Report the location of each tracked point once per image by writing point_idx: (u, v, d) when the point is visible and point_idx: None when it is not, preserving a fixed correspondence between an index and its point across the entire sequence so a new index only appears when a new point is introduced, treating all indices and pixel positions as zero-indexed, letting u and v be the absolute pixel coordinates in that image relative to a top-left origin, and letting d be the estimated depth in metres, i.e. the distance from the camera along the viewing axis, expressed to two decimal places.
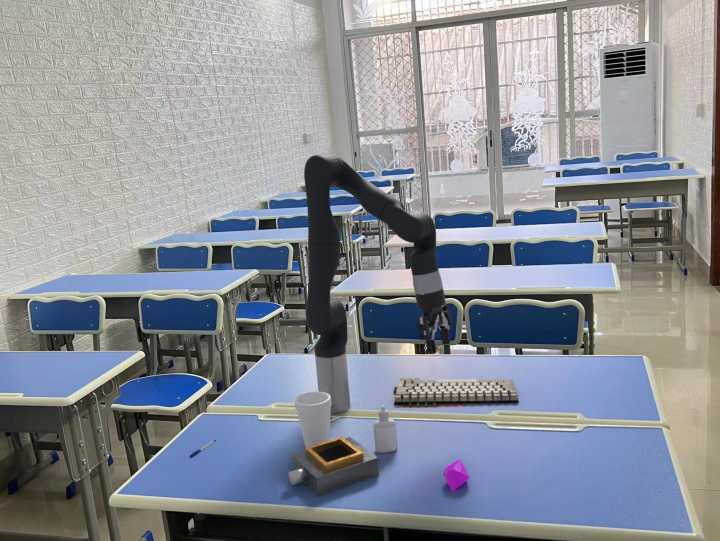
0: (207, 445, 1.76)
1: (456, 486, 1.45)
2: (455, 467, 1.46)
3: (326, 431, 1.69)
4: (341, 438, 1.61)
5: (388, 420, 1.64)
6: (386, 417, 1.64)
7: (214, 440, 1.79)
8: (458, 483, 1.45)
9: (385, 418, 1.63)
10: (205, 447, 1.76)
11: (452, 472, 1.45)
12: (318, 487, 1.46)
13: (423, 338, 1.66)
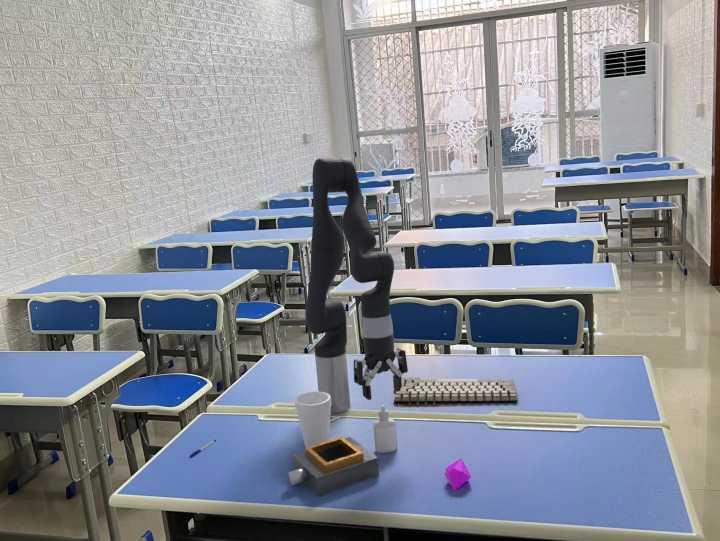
0: (207, 445, 1.76)
1: (458, 485, 1.45)
2: (457, 466, 1.46)
3: (326, 431, 1.69)
4: (341, 438, 1.61)
5: (388, 420, 1.64)
6: (386, 417, 1.64)
7: (214, 440, 1.79)
8: (460, 482, 1.45)
9: (385, 418, 1.63)
10: (205, 447, 1.76)
11: (453, 471, 1.45)
12: (318, 487, 1.46)
13: (356, 382, 1.60)
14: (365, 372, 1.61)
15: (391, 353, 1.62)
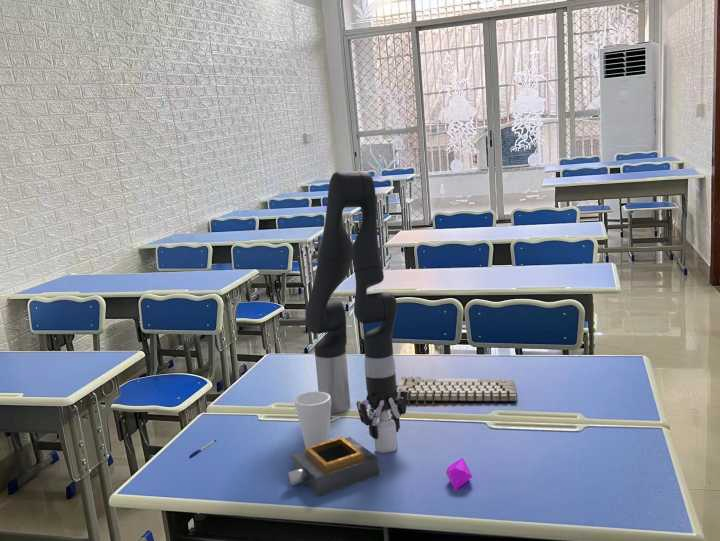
0: (207, 445, 1.76)
1: (459, 485, 1.45)
2: (458, 466, 1.47)
3: (326, 431, 1.69)
4: (341, 438, 1.61)
5: (388, 420, 1.64)
6: (386, 417, 1.64)
7: (214, 440, 1.79)
8: (461, 482, 1.45)
9: (385, 418, 1.63)
10: (205, 447, 1.76)
11: (455, 470, 1.46)
12: (318, 487, 1.46)
13: (363, 422, 1.62)
14: (370, 412, 1.64)
15: (394, 391, 1.64)
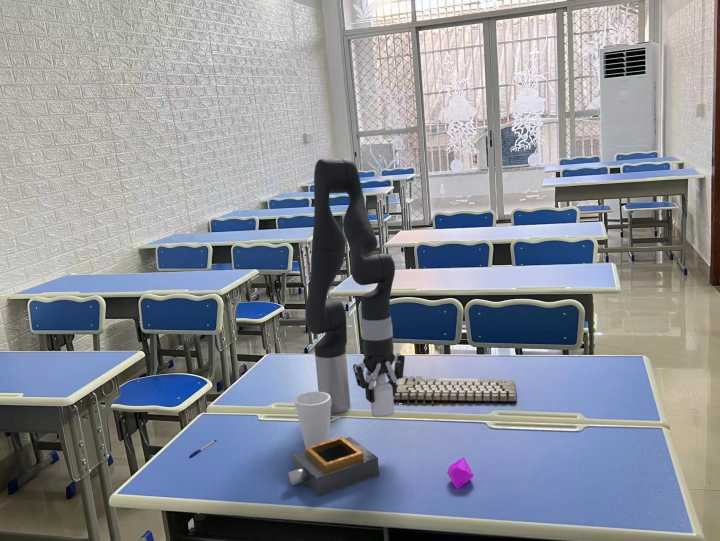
0: (207, 445, 1.76)
1: (460, 484, 1.45)
2: (459, 465, 1.47)
3: (326, 431, 1.69)
4: (341, 438, 1.61)
5: (385, 384, 1.62)
6: (383, 381, 1.62)
7: (215, 440, 1.79)
8: (462, 481, 1.45)
9: (382, 382, 1.62)
10: (205, 447, 1.76)
11: (456, 470, 1.46)
12: (318, 487, 1.46)
13: (359, 385, 1.60)
14: (366, 375, 1.62)
15: (391, 355, 1.62)
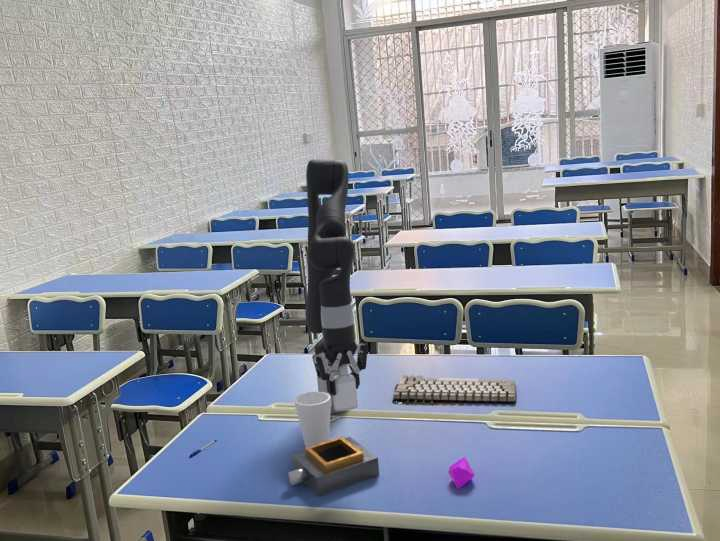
0: (207, 445, 1.76)
1: (461, 484, 1.45)
2: (460, 465, 1.47)
3: (326, 431, 1.69)
4: (341, 438, 1.61)
5: (347, 375, 1.53)
6: (345, 372, 1.53)
7: (215, 440, 1.79)
8: (463, 481, 1.46)
9: (344, 373, 1.53)
10: (205, 447, 1.76)
11: (457, 469, 1.46)
12: (318, 487, 1.46)
13: (320, 377, 1.51)
14: (327, 366, 1.53)
15: (353, 344, 1.53)
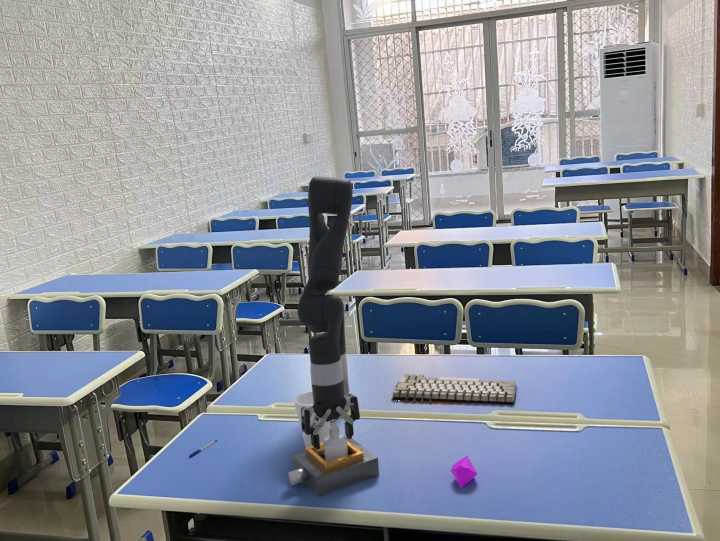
0: (208, 445, 1.76)
1: (464, 482, 1.46)
2: (463, 463, 1.47)
3: (326, 431, 1.69)
4: None
5: (339, 437, 1.54)
6: (336, 434, 1.54)
7: (215, 440, 1.79)
8: (466, 479, 1.46)
9: (335, 435, 1.54)
10: (205, 447, 1.76)
11: (460, 468, 1.46)
12: (318, 487, 1.46)
13: (303, 431, 1.51)
14: (314, 420, 1.53)
15: (342, 400, 1.53)
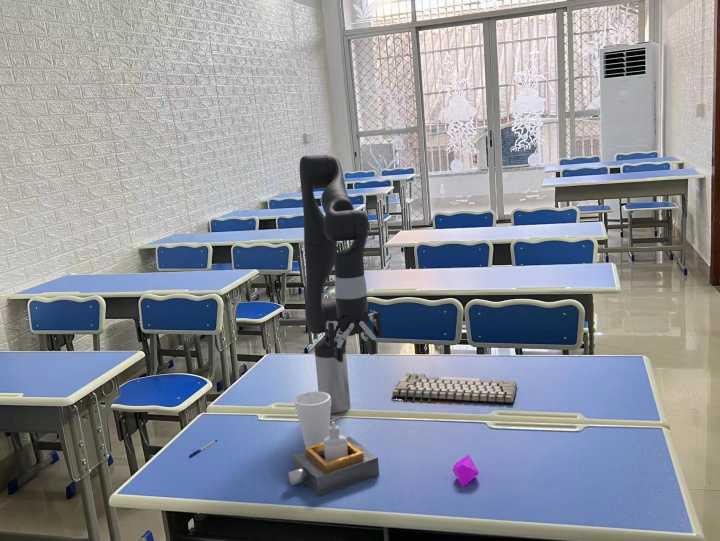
0: (208, 445, 1.76)
1: (466, 481, 1.46)
2: (465, 463, 1.48)
3: (326, 431, 1.69)
4: None
5: (339, 437, 1.54)
6: (336, 434, 1.54)
7: (215, 440, 1.79)
8: (468, 478, 1.46)
9: (335, 435, 1.54)
10: (206, 447, 1.76)
11: (462, 467, 1.47)
12: (318, 487, 1.46)
13: (327, 344, 1.55)
14: (337, 334, 1.57)
15: (364, 315, 1.57)
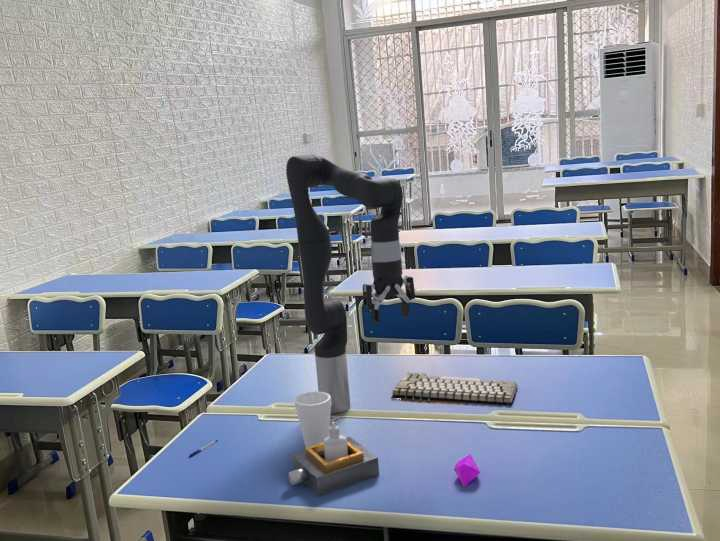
0: (208, 445, 1.76)
1: (468, 481, 1.46)
2: (466, 462, 1.48)
3: (326, 431, 1.69)
4: None
5: (339, 437, 1.54)
6: (336, 434, 1.54)
7: (216, 440, 1.79)
8: (470, 478, 1.47)
9: (335, 435, 1.54)
10: (206, 447, 1.76)
11: (463, 467, 1.47)
12: (318, 487, 1.46)
13: (365, 305, 1.64)
14: (374, 297, 1.66)
15: (399, 279, 1.66)
